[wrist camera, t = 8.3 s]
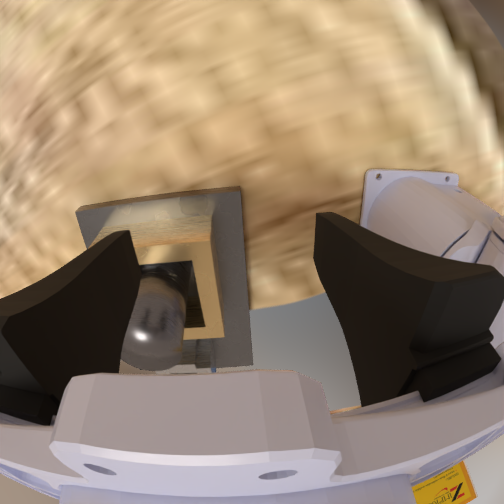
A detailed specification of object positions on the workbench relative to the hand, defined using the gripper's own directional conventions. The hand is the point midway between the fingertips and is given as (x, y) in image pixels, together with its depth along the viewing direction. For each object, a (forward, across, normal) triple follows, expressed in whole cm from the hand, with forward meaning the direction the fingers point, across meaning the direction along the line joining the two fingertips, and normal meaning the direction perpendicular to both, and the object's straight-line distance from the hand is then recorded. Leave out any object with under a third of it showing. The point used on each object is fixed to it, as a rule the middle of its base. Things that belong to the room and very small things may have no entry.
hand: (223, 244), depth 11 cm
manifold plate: (+9, +5, +10) cm, 15 cm away
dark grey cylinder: (+8, +5, +6) cm, 12 cm away
